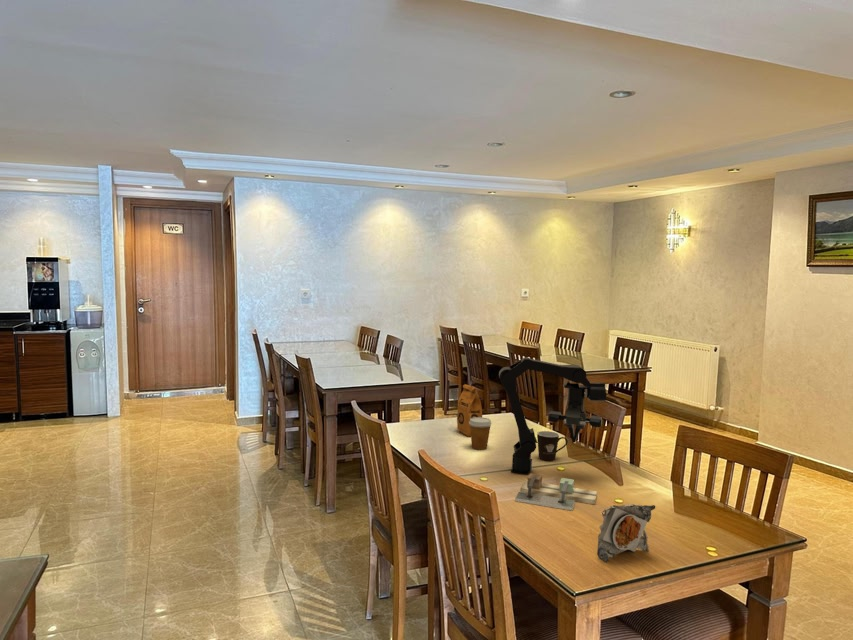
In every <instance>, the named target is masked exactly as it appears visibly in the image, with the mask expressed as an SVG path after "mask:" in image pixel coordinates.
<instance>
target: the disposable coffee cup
mask: <svg viewBox="0 0 853 640" xmlns="http://www.w3.org/2000/svg"><path fill="white" fill-rule="evenodd" d="M469 424H470V431H471V437H470V439H471V441H470V442H471V448H472V449H473V450H476V451H477V450H478V451H483V450H486V449H487V448H488V444H489V437H490V431H491V426H492V421H491V419H490V418H489V417H488V418H487V417H483V416H482V417H474V418H471V419H470V421H469Z"/></svg>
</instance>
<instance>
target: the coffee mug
mask: <svg viewBox="0 0 853 640" xmlns="http://www.w3.org/2000/svg"><path fill="white" fill-rule="evenodd" d="M536 436H537V437H536V439H537V442H538V443H537V451H538V459H539V460H540V461H544V462H554V461H555V460H556V457H557V453H558V452H559V451H561V450H562V449H564V448H565V447H566V446H567V445H568V443H569V442H568V439H567V438H566V437H564V436H561V437H560V434H559V433H558V432H555V431H549V430H542V431H538V432H537V433H536ZM561 439H562V440H563V439H564V440H565V444H564V445H563V446H562V447H560V448H558V445H559V442H560V440H561Z"/></svg>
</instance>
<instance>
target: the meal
mask: <svg viewBox="0 0 853 640" xmlns="http://www.w3.org/2000/svg"><path fill="white" fill-rule="evenodd" d="M653 510H656V505H655V504H652V505H642V504H633V503H631V504H630V503H629V504H628V503H627V504H623V505H616V504H615V505H611V506H610V507H609V508H607V509H604V510H603V511H602V512H601V514H602V518H603V519H602V520H603V521H602V524H600V526H599V530H600V533H599V534H598V537H597V541H598V542H597V550H596V552H597V553H596V556H597V557H598V558H599V560H602V562H603V561H604V562H605V563H606V564H608V561H609V558H614V557H615V556H616V554H619V553H620V554H621V553H623V552H626V551H631V552H636V551H637V549H638V550H640V551H646V552H650V548H649V545H648V534H647V532H646V530H645V529H646V526H647V523H649V522H650V521H651V519H652V511H653Z"/></svg>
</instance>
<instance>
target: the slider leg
mask: <svg viewBox="0 0 853 640" xmlns="http://www.w3.org/2000/svg"><path fill="white" fill-rule="evenodd" d="M559 486H560V490H559V491H561V493H562V496H561V501H565V493H566V492H568V493H572V491H573V488H575V480H574V479H571V478H565V477H561V479H560V481H559Z"/></svg>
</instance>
